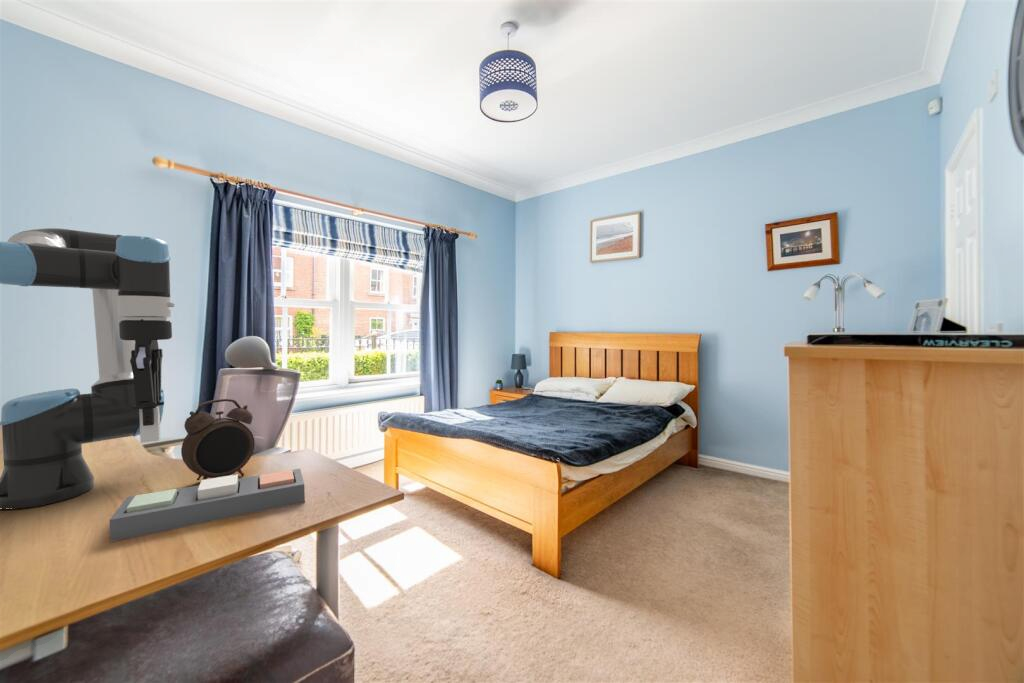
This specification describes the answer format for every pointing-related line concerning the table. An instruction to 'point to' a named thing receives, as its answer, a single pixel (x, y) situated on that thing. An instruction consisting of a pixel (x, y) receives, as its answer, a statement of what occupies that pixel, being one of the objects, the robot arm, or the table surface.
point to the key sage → (152, 500)
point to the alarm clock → (217, 442)
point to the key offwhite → (218, 487)
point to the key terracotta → (276, 479)
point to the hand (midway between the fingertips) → (150, 440)
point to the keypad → (205, 507)
